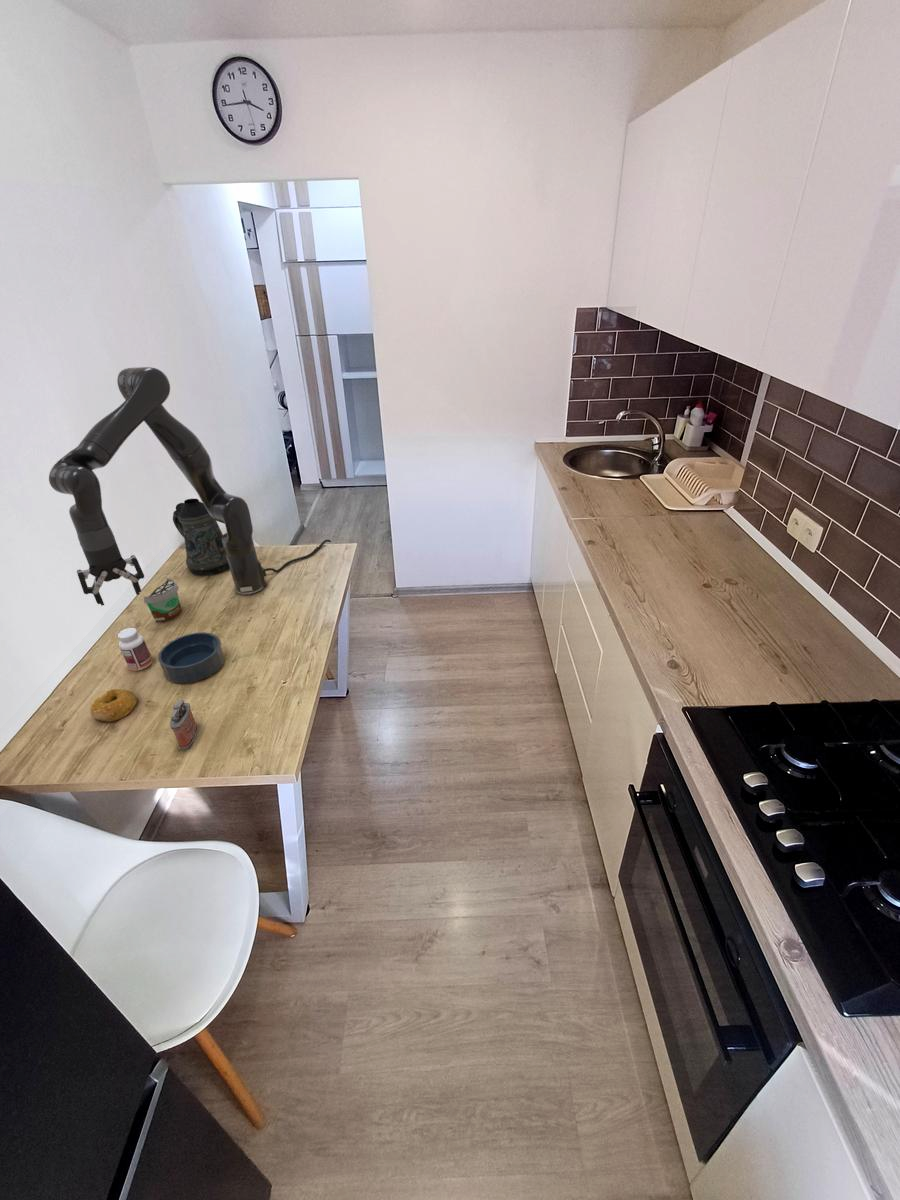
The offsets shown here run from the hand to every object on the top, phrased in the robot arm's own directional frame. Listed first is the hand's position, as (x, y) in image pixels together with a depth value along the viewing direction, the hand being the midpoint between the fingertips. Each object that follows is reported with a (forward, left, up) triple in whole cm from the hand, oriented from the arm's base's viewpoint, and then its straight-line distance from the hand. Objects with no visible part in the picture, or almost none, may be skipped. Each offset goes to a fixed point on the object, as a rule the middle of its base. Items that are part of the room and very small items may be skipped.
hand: (120, 598), depth 151 cm
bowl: (-10, +13, -20) cm, 26 cm away
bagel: (+11, +18, -21) cm, 29 cm away
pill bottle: (+2, +2, -21) cm, 21 cm away
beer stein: (-31, -46, -21) cm, 59 cm away
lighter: (-1, +40, -21) cm, 45 cm away
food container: (-12, -19, -21) cm, 31 cm away
